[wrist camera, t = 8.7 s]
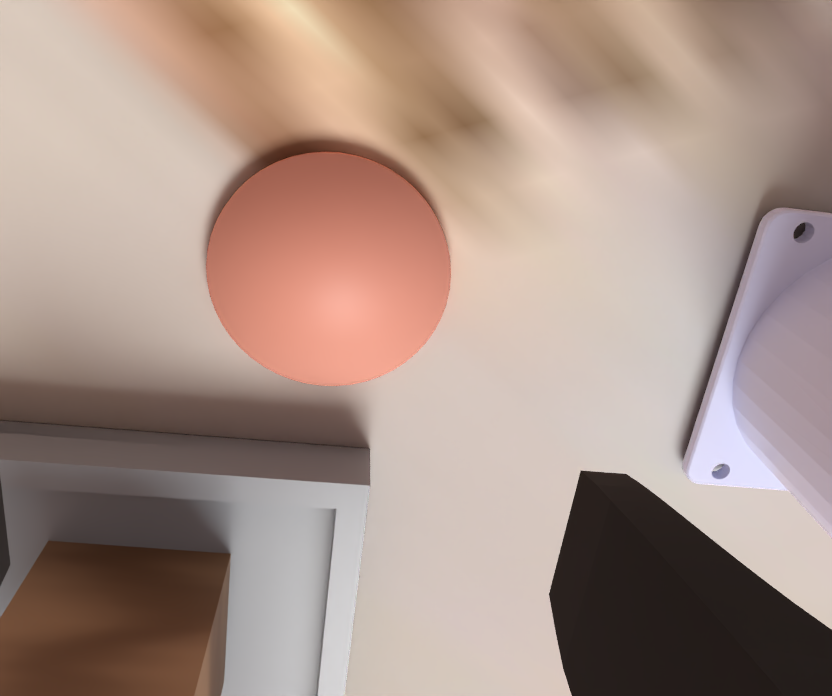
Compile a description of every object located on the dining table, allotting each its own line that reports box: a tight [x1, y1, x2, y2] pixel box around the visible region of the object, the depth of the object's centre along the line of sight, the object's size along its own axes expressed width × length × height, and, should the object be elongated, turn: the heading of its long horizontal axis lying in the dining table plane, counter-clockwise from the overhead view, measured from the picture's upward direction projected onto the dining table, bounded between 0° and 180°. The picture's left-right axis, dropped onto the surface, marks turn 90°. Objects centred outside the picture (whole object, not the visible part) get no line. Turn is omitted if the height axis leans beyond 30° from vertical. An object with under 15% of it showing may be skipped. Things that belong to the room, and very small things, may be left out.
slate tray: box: [0, 420, 370, 696], centre depth 21 cm, size 12×12×2 cm
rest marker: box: [206, 151, 451, 386], centre depth 18 cm, size 6×6×1 cm
